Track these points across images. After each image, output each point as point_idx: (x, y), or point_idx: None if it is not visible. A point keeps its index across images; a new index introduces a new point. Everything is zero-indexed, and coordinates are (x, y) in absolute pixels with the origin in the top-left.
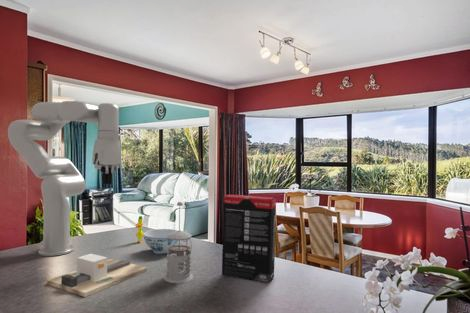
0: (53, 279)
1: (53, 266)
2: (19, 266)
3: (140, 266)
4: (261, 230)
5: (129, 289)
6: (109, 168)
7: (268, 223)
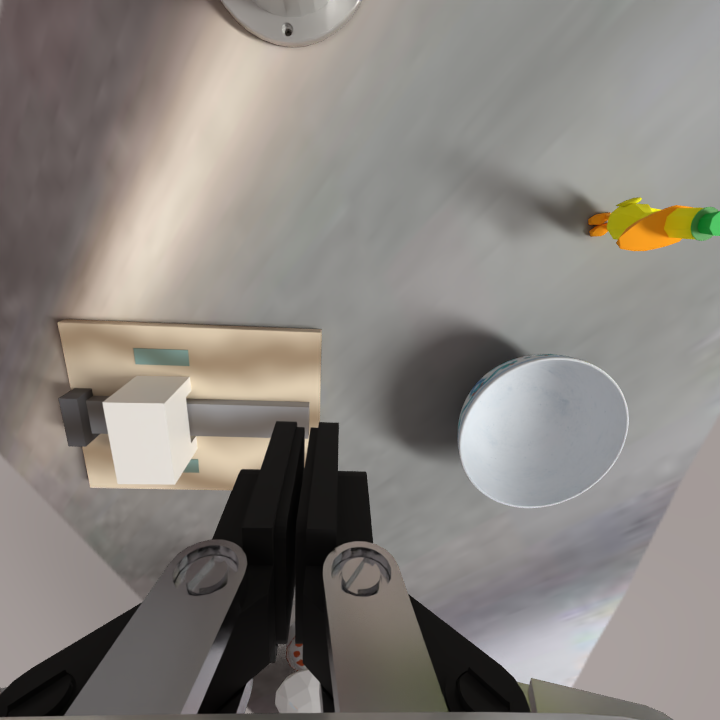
0: (73, 335)
1: (161, 169)
2: (64, 17)
3: None
4: None
5: (196, 530)
6: (392, 680)
7: None
